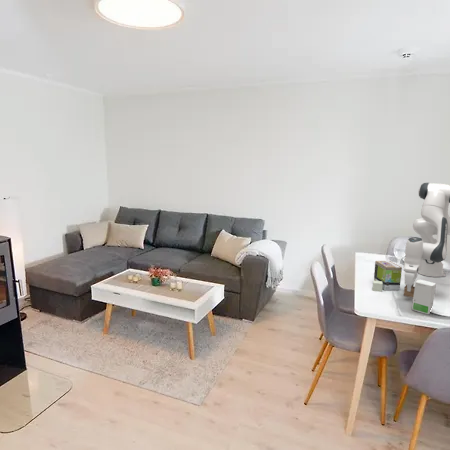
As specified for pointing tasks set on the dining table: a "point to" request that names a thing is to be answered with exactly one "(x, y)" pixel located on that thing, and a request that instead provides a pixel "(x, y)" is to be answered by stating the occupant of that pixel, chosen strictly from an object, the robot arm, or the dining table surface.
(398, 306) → the dining table surface
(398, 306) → the dining table surface
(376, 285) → the sage block
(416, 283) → the skincare box
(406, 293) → the walnut block
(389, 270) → the tea box
